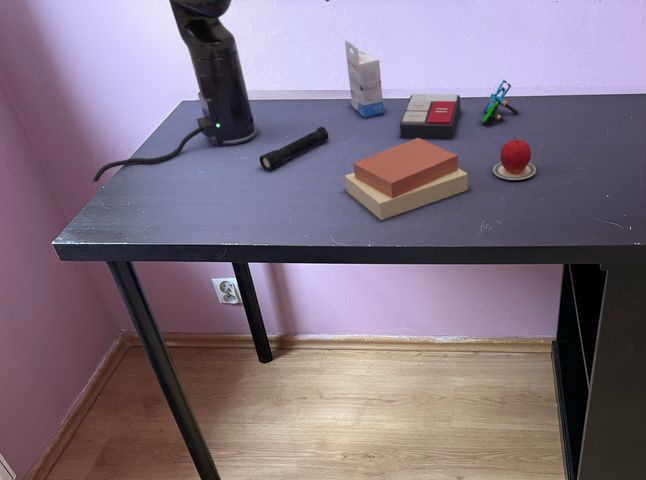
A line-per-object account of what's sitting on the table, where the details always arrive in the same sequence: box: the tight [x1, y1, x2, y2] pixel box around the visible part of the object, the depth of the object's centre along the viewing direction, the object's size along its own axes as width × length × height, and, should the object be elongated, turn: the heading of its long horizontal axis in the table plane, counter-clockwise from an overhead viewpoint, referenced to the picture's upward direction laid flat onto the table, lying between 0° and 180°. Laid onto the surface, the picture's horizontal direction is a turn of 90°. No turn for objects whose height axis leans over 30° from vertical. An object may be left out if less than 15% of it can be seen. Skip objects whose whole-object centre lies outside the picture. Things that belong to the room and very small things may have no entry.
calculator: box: [399, 93, 461, 140], centre depth 141 cm, size 11×4×15 cm
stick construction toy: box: [482, 79, 519, 124], centre depth 143 cm, size 12×7×8 cm
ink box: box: [344, 38, 385, 119], centre depth 146 cm, size 8×5×15 cm, turn 26°
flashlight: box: [259, 126, 329, 172], centre depth 133 cm, size 3×16×3 cm, turn 144°
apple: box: [492, 136, 537, 181], centre depth 122 cm, size 8×8×6 cm
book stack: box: [344, 138, 469, 221], centre depth 118 cm, size 18×13×6 cm
